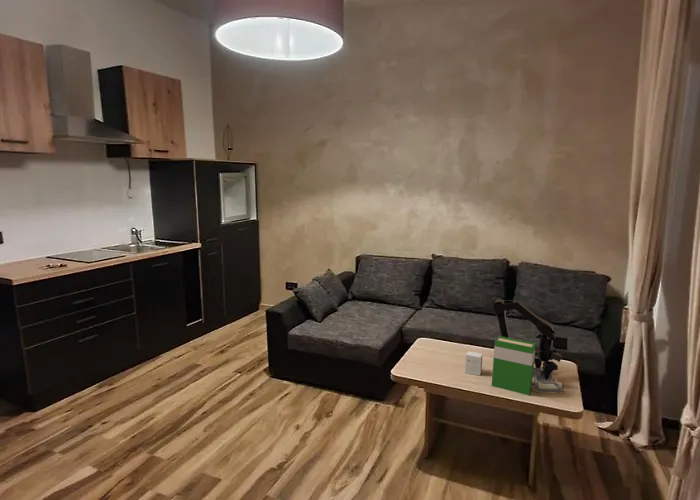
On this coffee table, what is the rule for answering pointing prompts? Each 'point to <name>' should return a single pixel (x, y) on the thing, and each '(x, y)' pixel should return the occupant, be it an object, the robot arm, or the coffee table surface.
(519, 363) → the hardback book
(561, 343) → the robot arm
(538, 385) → the panel with knobs
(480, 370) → the small box
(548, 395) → the coffee table surface
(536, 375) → the drive
